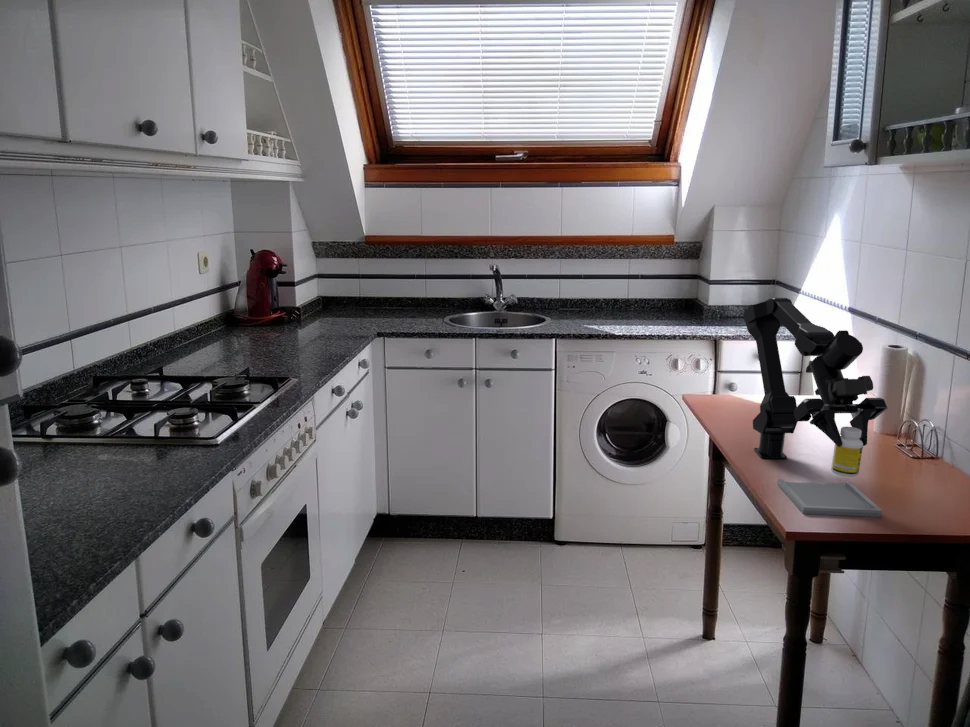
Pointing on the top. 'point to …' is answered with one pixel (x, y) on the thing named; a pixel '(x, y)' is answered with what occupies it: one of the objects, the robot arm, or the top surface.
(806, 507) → the gray tray
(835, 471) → the supplement bottle
